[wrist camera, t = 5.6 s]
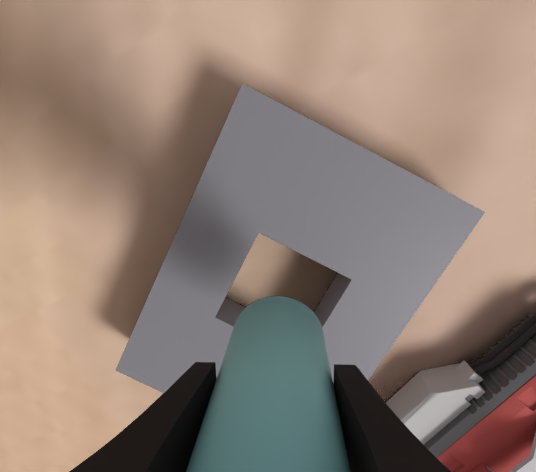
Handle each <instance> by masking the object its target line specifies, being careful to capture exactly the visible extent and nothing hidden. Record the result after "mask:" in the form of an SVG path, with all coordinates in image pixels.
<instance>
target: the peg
mask: <svg viewBox="0 0 536 472" xmlns="http://www.w3.org/2000/svg"><path fill="white" fill-rule="evenodd" d="M186 472H351V470H350V465H349V460H348V455H347V450H346V445H345V440H344V435H343V430H342V425H341V420H340V415H339V410H338V405H337V400H336V395H335V390H334V384H333V379H332V374H331V369H330V364H329V359H328V354H327V349H326V344H325V339H324V334H323V329H322V326H321V323H320V321H319V319H318V317H317V316H316V315H315V313H314V312H313V311H312V310H311V309H310V308H309V307H307V306H306V305H305V304H303V303H301V302H300V301H297V300H295V299H292V298H289V297H283V296H270V297H265V298H262V299H259V300H257V301H255V302H253V303H251V304H250V305H248V306H247V307H246V308H245V309H244V310H243V311H242V312H241V313H240V315H239V316H238V318H237V320H236V322H235V325H234V328H233V331H232V334H231V337H230V340H229V343H228V346H227V349H226V352H225V355H224V358H223V361H222V364H221V367H220V370H219V373H218V376H217V379H216V382H215V385H214V388H213V391H212V394H211V397H210V400H209V404H208V407H207V410H206V413H205V416H204V419H203V422H202V425H201V428H200V431H199V434H198V437H197V440H196V443H195V446H194V449H193V452H192V455H191V458H190V461H189V464H188V467H187V470H186Z"/></svg>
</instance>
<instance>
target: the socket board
mask: <svg viewBox="0 0 536 472" xmlns="http://www.w3.org/2000/svg"><path fill="white" fill-rule="evenodd" d="M484 213H485V212H484V211H482V210H480V209H478V208H476V207H474V206H473V205H471V204H469V203H467V202H465V201H463V200H461V199H459V198H457V197H456V196H454V195H452V194H450V193H448V192H446V191H444V190H442V189H441V188H439V187H437V186H435V185H433V184H431V183H429V182H427V181H425V180H424V179H422V178H420V177H418V176H416V175H414V174H412V173H410V172H409V171H407V170H405V169H403V168H401V167H399V166H397V165H395V164H393V163H392V162H390V161H388V160H386V159H384V158H382V157H380V156H378V155H376V154H375V153H373V152H371V151H369V150H367V149H365V148H363V147H361V146H360V145H358V144H356V143H354V142H352V141H350V140H348V139H346V138H344V137H343V136H341V135H339V134H337V133H335V132H333V131H331V130H329V129H328V128H326V127H324V126H322V125H320V124H318V123H316V122H314V121H312V120H311V119H309V118H307V117H305V116H303V115H301V114H299V113H297V112H296V111H294V110H292V109H290V108H288V107H286V106H284V105H282V104H280V103H279V102H277V101H275V100H273V99H271V98H269V97H267V96H265V95H263V94H262V93H260V92H258V91H256V90H254V89H252V88H250V87H248V86H247V85H245V84H243V83H242V85H241V88H240V90H239V92H238V94H237V97H236V99H235V101H234V103H233V106H232V108H231V110H230V112H229V115H228V117H227V119H226V122H225V124H224V126H223V128H222V131H221V133H220V135H219V137H218V140H217V142H216V144H215V146H214V149H213V151H212V153H211V155H210V158H209V160H208V162H207V164H206V167H205V169H204V171H203V174H202V176H201V178H200V180H199V183H198V185H197V187H196V189H195V192H194V194H193V196H192V198H191V201H190V203H189V205H188V207H187V210H186V212H185V214H184V216H183V219H182V221H181V223H180V226H179V228H178V230H177V232H176V235H175V237H174V239H173V241H172V244H171V246H170V248H169V250H168V253H167V255H166V257H165V259H164V262H163V264H162V266H161V269H160V271H159V273H158V275H157V278H156V280H155V282H154V284H153V287H152V289H151V291H150V293H149V296H148V298H147V300H146V302H145V305H144V307H143V309H142V311H141V314H140V316H139V318H138V321H137V323H136V325H135V327H134V330H133V332H132V334H131V336H130V339H129V341H128V343H127V345H126V348H125V350H124V352H123V354H122V357H121V359H120V361H119V364H118V366H117V368H116V371H118V372H120V373H122V374H124V375H127V376H129V377H131V378H133V379H135V380H137V381H139V382H141V383H144V384H146V385H148V386H150V387H152V388H154V389H156V390H158V391H160V392H163V393H165V392H166V391H167V390H168V389H169V388H170V387H171V386H172V385H173V384H174V383H175V382H176V381H177V380H178V379H179V378H180V377H181V376H182V375H183V374H184V373H185V372H186V371H187V370H188V369H189V368H190V367H191V366H192V365H193V364H194V363H195V362H215V364H216V378H217V376H218V373H219V370H220V367H221V364H222V361H223V358H224V355H225V352H226V349H227V346H228V343H229V340H230V337H231V334H232V331H233V328H234V325H235V322H236V320H237V318H238V316H239V315H240V313H241V312H242V311H243V310H244V309H245V308H246V307H244V306H242V305H240V304H238V303H236V302H234V301H232V300H230V299H228V298H226V295H227V293H228V291H229V289H230V287H231V285H232V283H233V281H234V280H235V278H236V276H237V274H238V272H239V270H240V268H241V266H242V264H243V262H244V260H245V258H246V256H247V254H248V252H249V250H250V248H251V246H252V244H253V242H254V241H255V239H256V237H257V235H258V233H261V234H263V235H265V236H266V237H268V238H270V239H272V240H274V241H276V242H278V243H280V244H282V245H284V246H286V247H288V248H290V249H292V250H294V251H296V252H298V253H300V254H302V255H304V256H306V257H308V258H310V259H312V260H314V261H316V262H318V263H320V264H322V265H324V266H326V267H328V268H330V269H332V270H334V271H336V272H338V273H337V275H336V276H335V278H334V280H333V281H332V283H331V285H330V286H329V288H328V290H327V291H326V293H325V295H324V296H323V298H322V300H321V301H320V303H319V305H318V306H317V308H316V310H315V311H314V313H315V315H316V316H317V317H318V319H319V321H320V323H321V326H322V329H323V334H324V339H325V344H326V349H327V354H328V359H329V364H330V369H331V374H332V379H333V382H334V364H342V365H356V366H357V367H358V368H359V370H360V371H361V372H362V374H363V375H364V376H365V378H366V379H367V380H369V378H370V377H371V375H372V374H373V372H374V371H375V370H376V368H377V367H378V365H379V364H380V362H381V361H382V359H383V358H384V357H385V355H386V354H387V352H388V351H389V349H390V348H391V347H392V345H393V344H394V342H395V341H396V339H397V338H398V336H399V335H400V334H401V332H402V331H403V329H404V328H405V326H406V325H407V324H408V322H409V321H410V319H411V318H412V316H413V315H414V313H415V312H416V311H417V309H418V308H419V306H420V305H421V303H422V302H423V301H424V299H425V298H426V296H427V295H428V293H429V292H430V290H431V289H432V288H433V286H434V285H435V283H436V282H437V280H438V279H439V277H440V276H441V275H442V273H443V272H444V270H445V269H446V267H447V266H448V265H449V263H450V262H451V260H452V259H453V257H454V256H455V254H456V253H457V252H458V250H459V249H460V247H461V246H462V244H463V243H464V242H465V240H466V239H467V237H468V236H469V234H470V233H471V231H472V230H473V229H474V227H475V226H476V224H477V223H478V221H479V220H480V219H481V217H482V216H483V214H484Z"/></svg>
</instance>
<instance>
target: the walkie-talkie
mask: <svg viewBox="0 0 536 472" xmlns="http://www.w3.org/2000/svg"><path fill="white" fill-rule="evenodd" d="M519 323H520V324H519V325H518V326H517V327H513V328H512V331H511V332H510V333H509V334H505V335H504V336H505V337H504V338H503V339H502V340H501V341H500V340H499V341H497V344H496V345H495V346H494V347H491V348H490V351H488V352H487V353H484V354H483V357H482V358H480V359H477V360H476V361H474V362H473V363H471V364H470V365H469V364H468V363H467V362H465V361H464V360H463V361H462V362H461V363H460V364H459V363H457V364H452V365H447V366H441V367H436V368H430V369H425V370H421V371H420V372H418V373H417V374H416V375H415V376H414V377H413V378H412V379H411V380H410V381H409V382H408V383H406V384H405V385H404V386H403V387H402V388H401V389H400V390H399V391H398V392H397V393H396V394H394V395H393V396H392V397H391V398H390V399H389V400H388V401H387V402H386V404H387V405H388V406H389V407H390V409H391V410H392V411H393V412H394V413H395V414H396V415H397V417H398V418H399V419H400V420H401V421H402V422H403V423H404V424H405V426H406V427H407V428H408V429H409V430H410V431H411V432H412V433H413V434H414V435H415V436H416V437H417V438H418V439H419V441H420V442H421V443H422V444H423V445H424V446H425V447H426V448H427V449H428V450H429V451H430V452H431V453H432V454H433V455H434V456H435V457H436V458H437V459H438V460H439V461H440V462H441V463H442V464H443V465H444V466H446V467H447V468H448V469H449V470H450V471H451V472H536V314H528V315H527V318H526V319H524V320H521V321H520V322H519Z"/></svg>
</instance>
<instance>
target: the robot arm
mask: <svg viewBox="0 0 536 472" xmlns="http://www.w3.org/2000/svg"><path fill="white" fill-rule="evenodd" d="M216 379H217V378H216V364H215V362H195V363H194V364H193V365H192V366H191V367H190V368H189V369H188V370H187V371H186V372H185V373H184V374H183V375H182V376H181V377H180V378H179V379H178V380H177V381H176V382H175V383H174V384H173V385H172V386H171V387H170V388H169V389H168V390H167V391H166V392H165V393H163V394H162V395H161V396H160V397H159V398H158V399H157V400H156V401H155V402H154V403H153V404H152V405H151V406H150V407H149V408H148V409H147V410H146V411H144V412H143V413H142V414H141V415H140V416H139V417H138V418H137V419H135V420H134V421H133V422H132V423H131V424H130V425H128V426H127V427H126V428H125V429H124V430H123V431H122V432H120V433H119V434H118V435H117V436H116V437H115V438H113V439H112V440H111V441H110V442H108V443H107V444H106V445H105V446H103V447H102V448H101V449H99V450H98V451H97V452H96V453H94V454H93V455H91V456H90V457H89V458H87V459H86V460H85V461H83V462H82V463H81V464H79V465H78V466H77V467H75V468H74V469H73V470H71V471H70V472H186V470H187V467H188V464H189V461H190V458H191V455H192V452H193V449H194V446H195V443H196V440H197V437H198V434H199V431H200V428H201V425H202V422H203V419H204V416H205V413H206V410H207V407H208V404H209V400H210V397H211V394H212V391H213V388H214V385H215V382H216ZM333 384H334V390H335V395H336V400H337V405H338V410H339V415H340V420H341V425H342V430H343V435H344V440H345V445H346V450H347V455H348V460H349V465H350V470H351V472H451V471H450V470H449V469H448V468H447V467H446V466H444V465H443V464H442V463H441V462H440V461H439V460H438V459H437V458H436V457H435V456H434V455H433V454H432V453H431V452H430V451H429V450H428V449H427V448H426V447H425V446H424V445H423V444H422V443H421V442H420V441H419V439H418V438H417V437H416V436H415V435H414V434H413V433H412V432H411V431H410V430H409V429H408V428H407V427H406V426H405V424H404V423H403V422H402V421H401V420H400V419H399V418H398V417H397V415H396V414H395V413H394V412H393V411H392V410H391V409H390V407H389V406H388V405H387V404H386V403H385V401H384V400H383V399H382V398H381V397H380V395H379V394H378V393H377V392H376V390H375V389H374V388H373V387H372V385H371V384H370V383H369V381H368V380H367V379H366V378H365V376H364V375H363V374H362V372H361V371H360V370H359V368H358V367H357V366H356V365H342V364H334V382H333Z"/></svg>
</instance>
